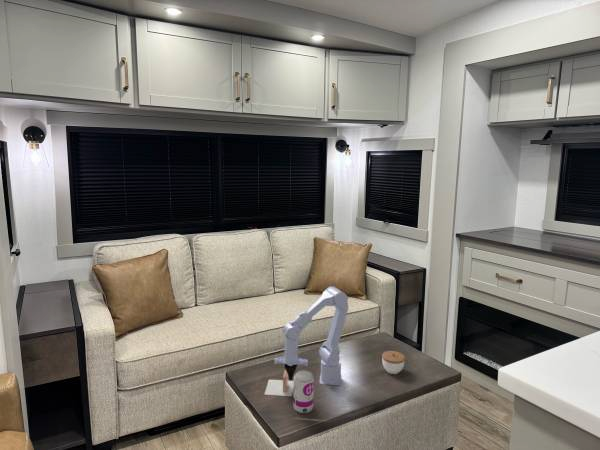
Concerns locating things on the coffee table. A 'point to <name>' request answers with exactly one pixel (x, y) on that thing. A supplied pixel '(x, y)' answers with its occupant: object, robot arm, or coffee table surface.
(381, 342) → the coffee table surface
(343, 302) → the robot arm
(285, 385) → the tile
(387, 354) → the lidded jar
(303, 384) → the supplement can
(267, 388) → the mat
